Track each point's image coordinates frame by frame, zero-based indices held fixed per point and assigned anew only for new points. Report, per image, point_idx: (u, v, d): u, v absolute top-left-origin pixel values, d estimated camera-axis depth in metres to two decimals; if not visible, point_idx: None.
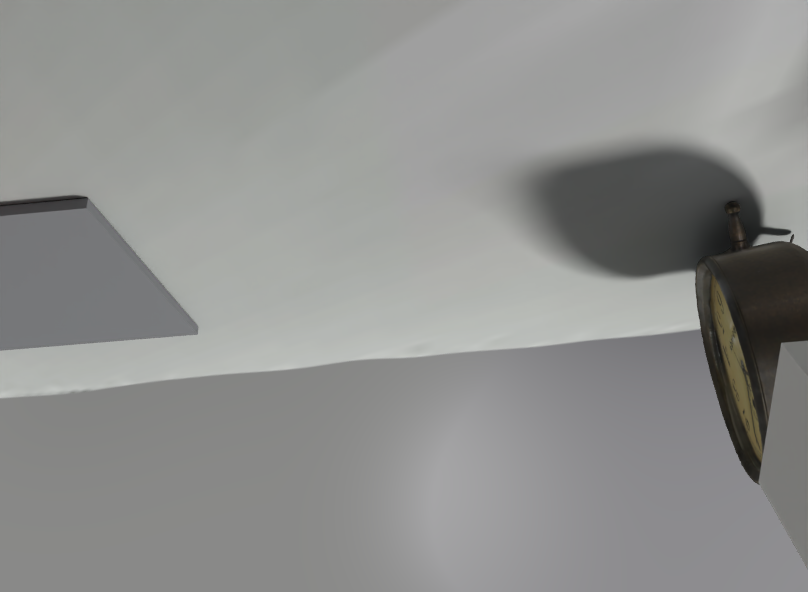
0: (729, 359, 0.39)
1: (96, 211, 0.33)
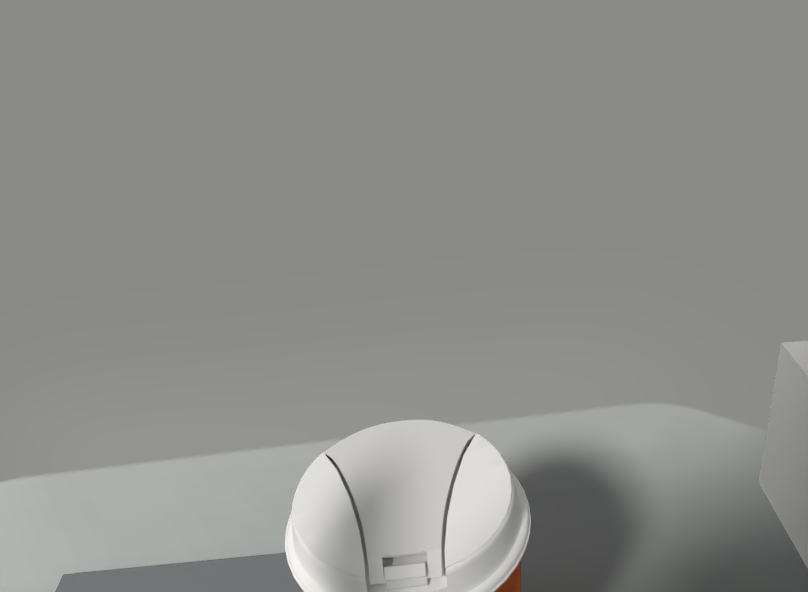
0: None
1: None
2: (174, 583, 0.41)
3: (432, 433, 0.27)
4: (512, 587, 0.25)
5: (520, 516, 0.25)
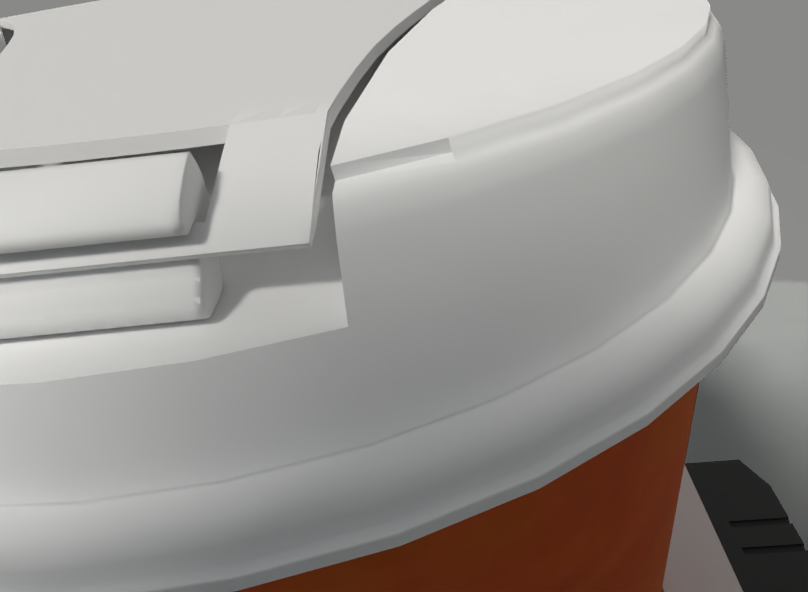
0: None
1: None
2: None
3: None
4: (681, 462, 0.05)
5: None
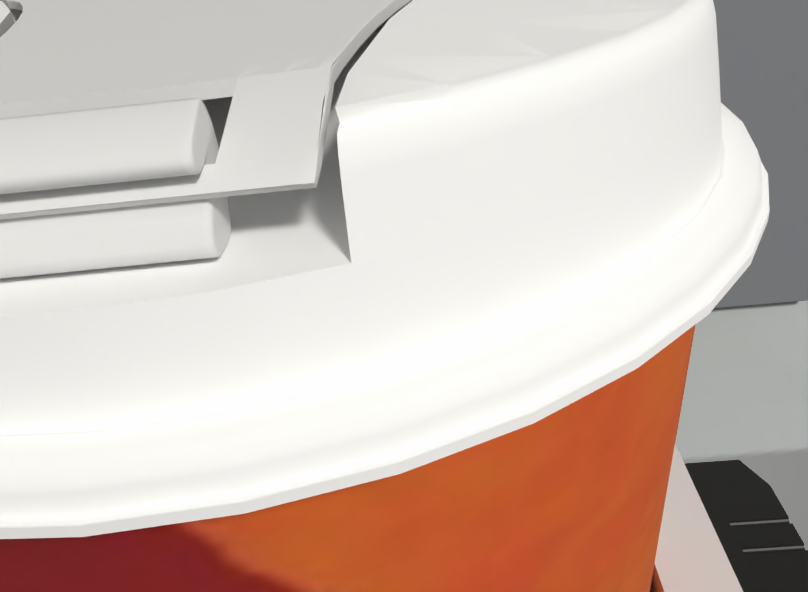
0: None
1: None
2: None
3: None
4: (673, 425, 0.06)
5: None
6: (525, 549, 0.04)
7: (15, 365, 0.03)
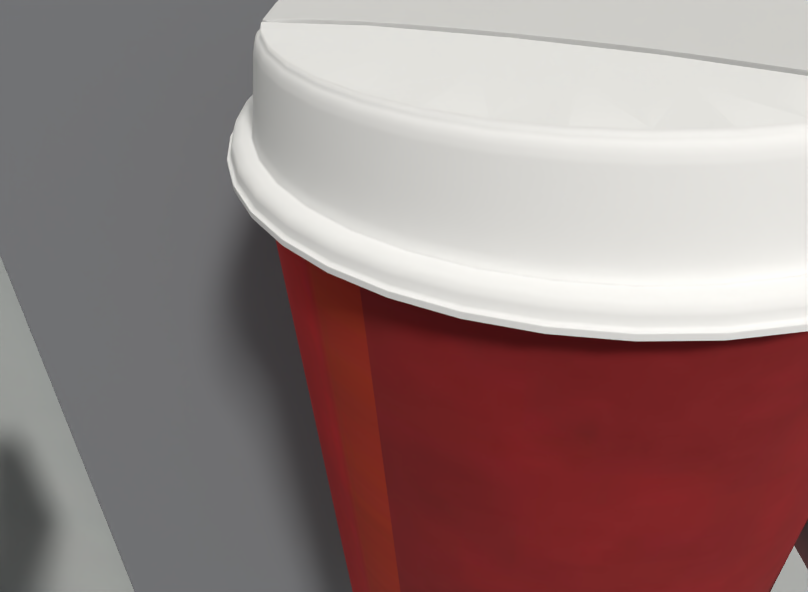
0: None
1: None
2: None
3: None
4: None
5: None
6: None
7: None
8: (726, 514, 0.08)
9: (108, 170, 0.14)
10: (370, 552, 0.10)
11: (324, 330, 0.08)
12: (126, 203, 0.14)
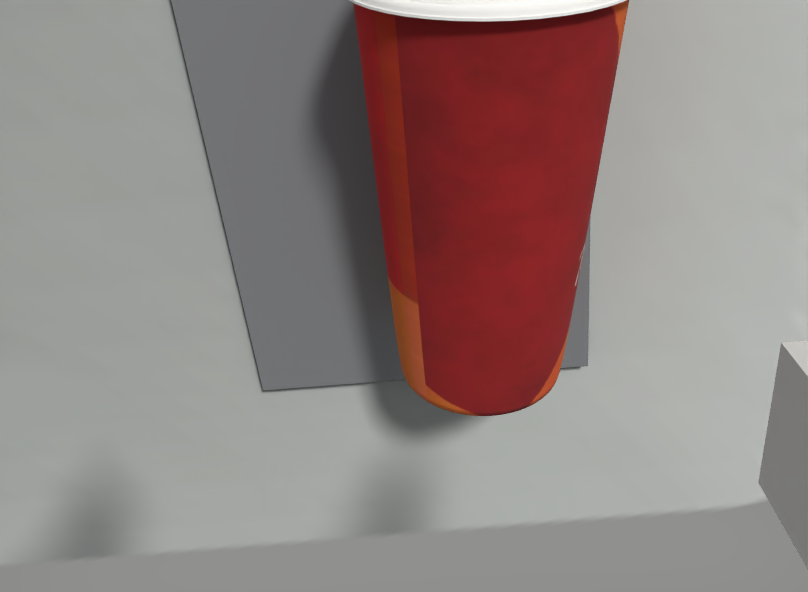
0: None
1: None
2: None
3: None
4: None
5: None
6: None
7: None
8: (534, 120, 0.20)
9: (254, 32, 0.26)
10: (396, 179, 0.22)
11: (380, 53, 0.20)
12: (262, 52, 0.26)
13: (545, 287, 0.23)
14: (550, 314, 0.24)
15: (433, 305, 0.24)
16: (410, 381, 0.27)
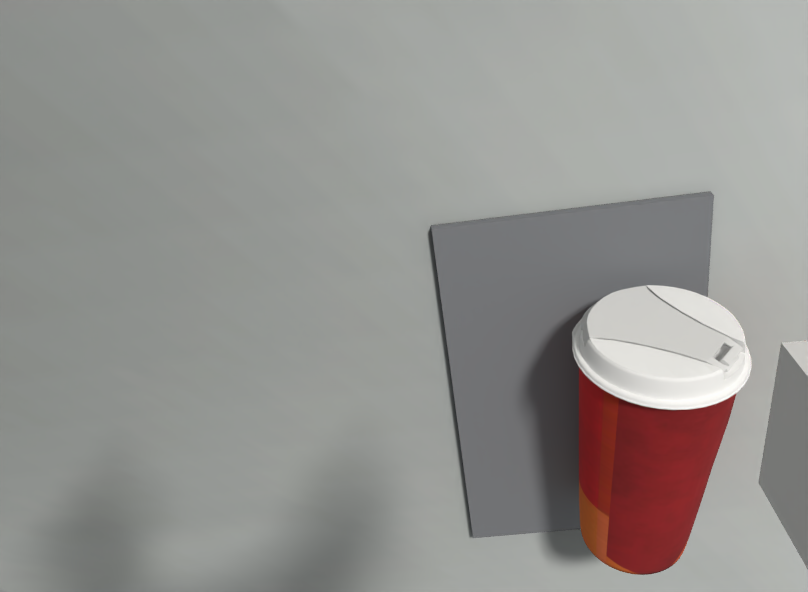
0: None
1: (447, 224, 0.39)
2: None
3: (624, 298, 0.38)
4: None
5: None
6: None
7: (736, 374, 0.34)
8: (693, 441, 0.35)
9: (494, 343, 0.42)
10: (604, 457, 0.38)
11: (605, 404, 0.36)
12: (498, 352, 0.42)
13: (688, 509, 0.39)
14: (689, 520, 0.40)
15: (620, 519, 0.40)
16: (592, 550, 0.43)
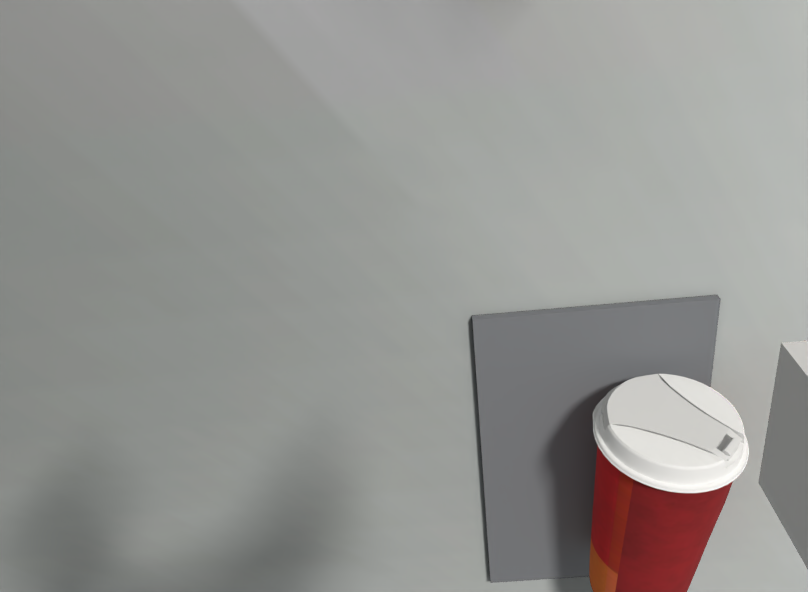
0: None
1: (486, 315, 0.44)
2: None
3: (639, 385, 0.44)
4: None
5: None
6: None
7: (735, 463, 0.40)
8: (696, 517, 0.41)
9: (521, 416, 0.47)
10: (617, 525, 0.43)
11: (620, 482, 0.41)
12: (523, 424, 0.48)
13: (688, 571, 0.45)
14: (688, 579, 0.46)
15: (628, 577, 0.45)
16: None
